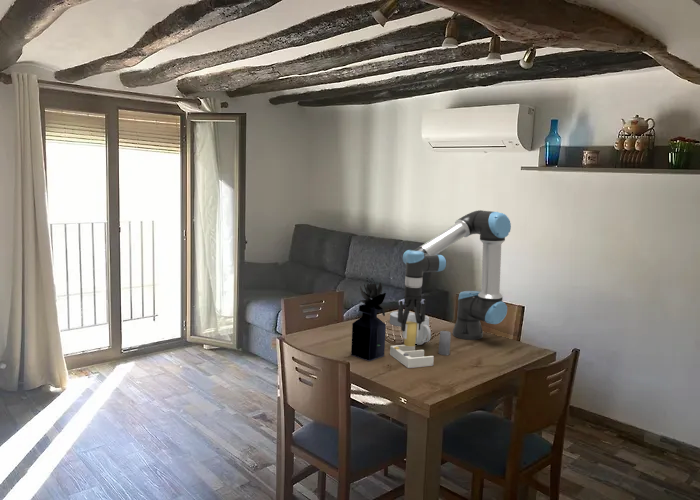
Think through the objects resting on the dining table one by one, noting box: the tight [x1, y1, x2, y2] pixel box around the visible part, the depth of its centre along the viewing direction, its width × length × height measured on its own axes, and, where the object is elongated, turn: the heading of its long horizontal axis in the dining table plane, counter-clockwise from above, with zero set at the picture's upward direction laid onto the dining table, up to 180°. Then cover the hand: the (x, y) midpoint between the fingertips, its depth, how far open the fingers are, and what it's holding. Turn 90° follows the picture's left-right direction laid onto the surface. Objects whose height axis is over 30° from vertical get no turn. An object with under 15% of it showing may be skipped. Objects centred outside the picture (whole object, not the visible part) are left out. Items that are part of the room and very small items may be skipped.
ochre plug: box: [403, 321, 417, 347], centre depth 242 cm, size 5×5×10 cm
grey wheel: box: [389, 310, 415, 328], centre depth 298 cm, size 15×15×5 cm
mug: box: [406, 314, 432, 346], centre depth 261 cm, size 15×11×13 cm
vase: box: [350, 277, 387, 362], centre depth 240 cm, size 14×12×35 cm
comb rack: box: [389, 344, 435, 369], centre depth 239 cm, size 12×18×5 cm, turn 21°
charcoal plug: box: [438, 330, 452, 356], centre depth 249 cm, size 5×5×10 cm
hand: (410, 337), depth 243 cm, fingers closed on ochre plug, 5 cm apart
